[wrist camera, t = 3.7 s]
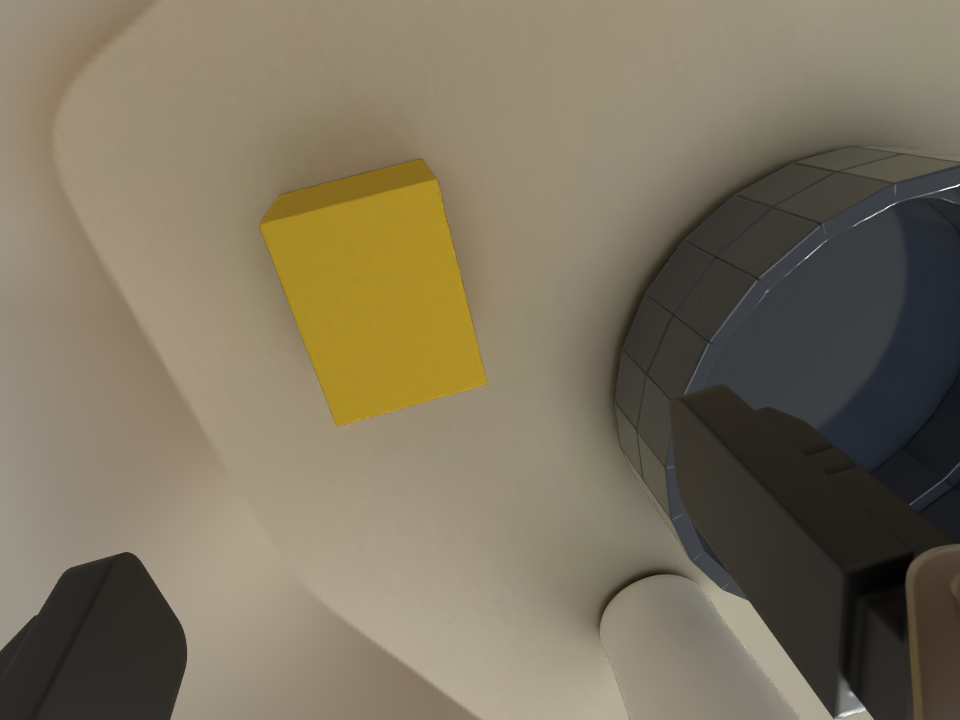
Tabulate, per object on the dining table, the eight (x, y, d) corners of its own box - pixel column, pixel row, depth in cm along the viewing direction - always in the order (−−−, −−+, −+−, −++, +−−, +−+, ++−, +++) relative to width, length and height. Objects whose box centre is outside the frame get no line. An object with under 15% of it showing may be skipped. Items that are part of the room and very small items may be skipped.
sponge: (340, 367, 21) (336, 427, 18) (277, 195, 19) (257, 224, 15) (466, 332, 22) (487, 385, 18) (422, 157, 19) (437, 178, 15)
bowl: (632, 566, 28) (685, 661, 23) (581, 212, 20) (642, 251, 16) (964, 465, 29) (1076, 538, 24) (1027, 93, 21) (1202, 99, 17)
